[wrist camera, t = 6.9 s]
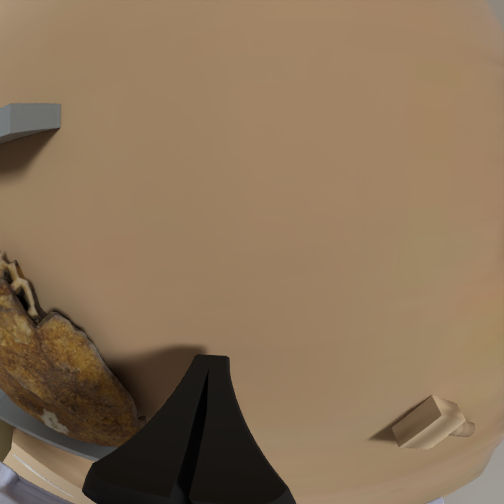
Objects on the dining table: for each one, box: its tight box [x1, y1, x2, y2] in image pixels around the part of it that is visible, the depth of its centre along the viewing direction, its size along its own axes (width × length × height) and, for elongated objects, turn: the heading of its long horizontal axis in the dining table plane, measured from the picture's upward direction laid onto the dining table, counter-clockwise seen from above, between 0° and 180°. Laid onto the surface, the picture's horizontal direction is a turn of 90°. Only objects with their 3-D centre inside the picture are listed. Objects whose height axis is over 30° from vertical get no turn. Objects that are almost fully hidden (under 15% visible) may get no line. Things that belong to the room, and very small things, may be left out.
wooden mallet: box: [392, 395, 475, 449], centre depth 16 cm, size 12×4×2 cm, turn 58°
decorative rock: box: [0, 252, 146, 447], centre depth 12 cm, size 11×4×15 cm
